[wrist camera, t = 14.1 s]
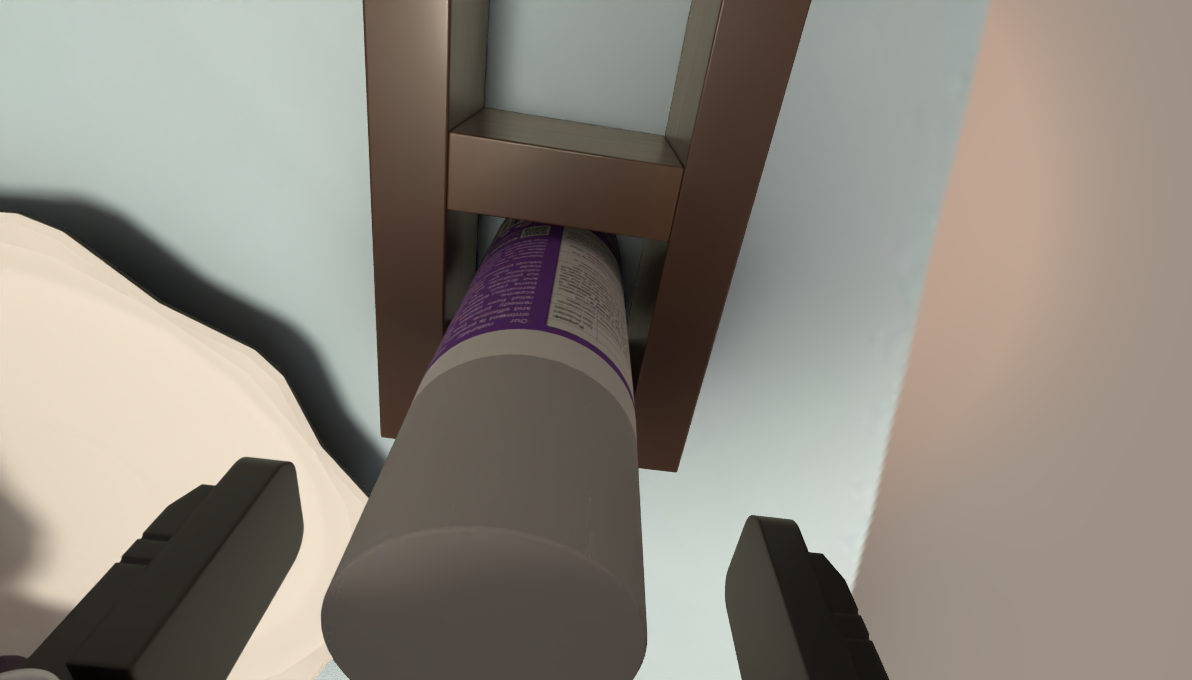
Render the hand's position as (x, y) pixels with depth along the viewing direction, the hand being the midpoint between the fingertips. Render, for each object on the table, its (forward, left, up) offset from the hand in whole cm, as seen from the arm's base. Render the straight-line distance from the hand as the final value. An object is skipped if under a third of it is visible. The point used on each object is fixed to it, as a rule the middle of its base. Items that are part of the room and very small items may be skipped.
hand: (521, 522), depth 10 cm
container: (0, 0, -13) cm, 13 cm away
